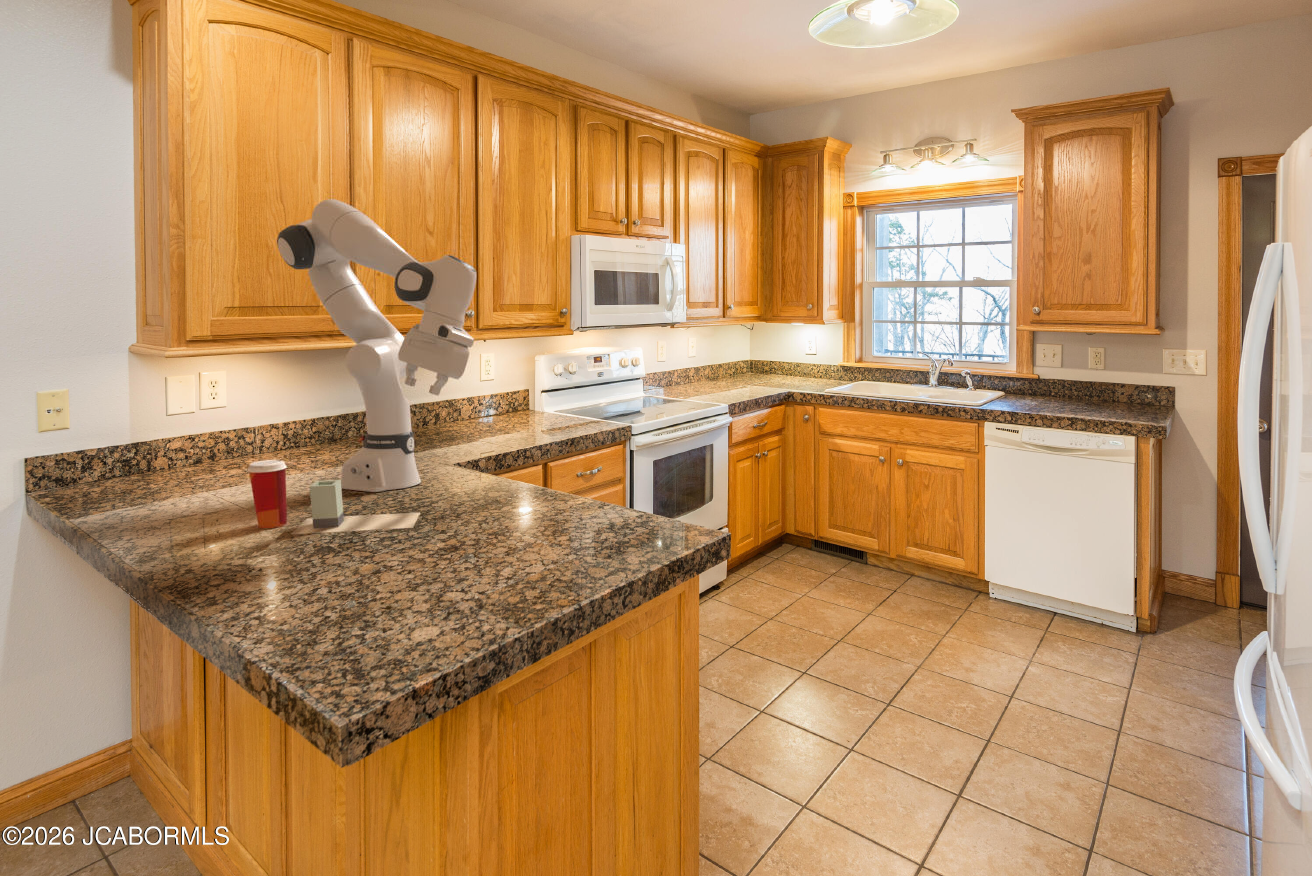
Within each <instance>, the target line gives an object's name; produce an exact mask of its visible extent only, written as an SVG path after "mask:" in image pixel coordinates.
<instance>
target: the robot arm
mask: <svg viewBox="0 0 1312 876" xmlns="http://www.w3.org/2000/svg"><path fill="white" fill-rule="evenodd" d="M276 244H277V248H278V249H277V250H278V251H279V254H280V256H281V258H282V259H283V261H284V262H285V263H286V264H287V265H288V266H289V267H291V268H293V269H294V270H300V271H301V270H307V269H308V270H307V271H308V273H307V274H308V277H309V280H310V282H311V285H312V286H313V289H314V291H315V292H316V295H317V297H318V299H319V300H320V302H321V304H322V305H323V307H324V308H325V310H326V312H327V313H328V315H329V316H330V318H331V319H332V321H333V322H334V323H335V325H336V327H337V328H338V330H339V331H340V332H341V333H342V334H343V335H344V336H347V337H348V338H349V339H350V340H352V341H353V342H354V343H355V345H354V346H352V347H351V348H349V350H348V352H347V354H346V357H345V363H346V364H345V365H346V368H347V370H348V373H350V375H351V376H352V377H353V378H354V379H355V380H356V383H357V384H358V387H359V389H360V392H361V395H362V398H363V402H364V406H365V415H366V416H365V418H366V427H367V429H366V430H367V432H366V433H365V434H364V435H362V436H359V437H358V439H359V440H358V442H362V441H363V442H362V447H361V448H360V449H358V450H357V451H356V452H355V453H353V454H352V455H351V456H350V457H349V458H348V459H347V460H345V461H344V463H343V465H342V468H341V478H340V479H338V480H341V490H343V489H344V490H352V491H359V492H361V491H363V492H371V493H378V492H379V493H380V492H385V491H389V490H397V489H398V490H399V489H406V488H411V487H414V486H417V485H419V484H421V482H422V480H421V477H420V474H419V471H418V467H417V463H416V459H415V453H414V452H415V437H414V431H413V430H412V420H411V419H412V417H411V406H410V405H411V404H410V401H409V399H408V398H407V397H406V396H405V394H404V392H403V387H402V386H401V383H400V378H404V377H405V380H404V384H405V385H407V386H408V387H415V386H416V384H417V379H416V372H417V371H418V369H419V368H421V369H424V370H427V371H431V372H432V373H436V376H435V378H436V380H435V382H434V383H433V385H430V387H429V390H428V393H430V394H432V395H434V396H440V394H441V391H442V389H443V387H444V386H446V384H447V383H448V381H449V378H451V379H454V380H459V379H461V377H462V376H463V375H464V373H465V370H466V368H467V363H468V362H469V358H470V349H469V348H472V347H473V345H474V342H475V339H474V337H473V336H471V335H470V334H469V333H468V332H467V331H466V330H465V329H464V325H465V316H466V312H467V310H468V308H469V307H470V305H471V302H472V300H473V297H474V294H475V293H474V292H475V288H476V283H477V271H476V269H475V267H473V266H472V265H470V264H469V263H467V262H465V261H464V260H462V259H459V258H457V257H456V256H454V255H449V254H447V255H444V256H442V257H441V258H439V259H437V260H432V261H427V262H426V261H424V262H420V261H419V260H417V259H416V258H414V257H413V256H412V255H410V254H409V253H408V252H407V251H406V250H405V249H404V248H402V247H401V245H399V244H398V243H397V242H396V241H395V240H394V239H393V238H391V236H389V235H388V233H386V232H385V231H384V229H382V227H380V226H379V225H378V224H377V223H376V222H375V221H374V220H372V219H371V218H370V217H369V216H368V215H366V214H365V213H363V212H362V211H360V210H359V209H357V208H356V207H354V206H353V205H350V204H348V203H346V202H343V201H341V200H338V199H334V198H331V199H330V198H329V199H324V200H322V201H320V202H319V203H317V204H316V206H315V207H314V208H313V211H312V213H311V218H310V219H307V220H304V221H301V222H299V223H297V224H292V225H289V226H287V227H284V229H282V230H281V231H280V232H279V233H278V236H277V239H276ZM350 261H351V262H353V263H355V264H358V265H360V266H363V267H366V268H367V269H368V268H369V269H372V270H373V271H377V272H379V273H381V274H382V273H383V274H385V275H388V276H391V277H393V278H394V291H395V295H396V296H397V298H398V299H399V300H401V301H402V302H403V303H405V304H407V305H409V306H411V307H414V308H416V309H417V310H418V309H419V310H421V311H423V314H422V316H421V319H420V323H415V325H413V326H412V327H411V328H410V330H408V331H407V333H406V334H405V336H403V335H402V333H400V331H399V330H398V329H397V327H395V326H394V325H393V324H392V323H391V322H390V321H389V319H387V318H386V317H385V315H384V314H383V313H382V312H381V311H380V310H379V308H378V307H377V305H376V304H375V303H374V301H373V299H372V297H371V296H370V295H369V293H368V291H367V290H366V288H365V286H363V283H361V281H360V279H359V278H358V277H357V276H356V274H355V273H354V271H353V269H352V268H351V264H350Z"/></svg>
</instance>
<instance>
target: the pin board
mask: <svg viewBox="0 0 1312 876" xmlns="http://www.w3.org/2000/svg"><path fill="white" fill-rule="evenodd" d="M420 514H421V512H405V513H385V514H383V513H382V514H366V515H363V514H362V515H347V516H345V515H344V521H343V522H342V524H341V525H340V526H339V527H330V528H313V519H312V517H311V518H308V517H307V518H306V519H304V520H303V521H302V522H301V524H299V526H298V527H297V528H295V530H293V531H292V532H291V533H290V535H305V534H324V533H325V534H326V533H344V532H345V533H346V532H360V531H361V532H362V531H363V532H365V531H377V530H378V531H379V530H396V529H397V530H398V529H412V528H414V526H415V524H416V522H417V520H418V519H419V516H420Z"/></svg>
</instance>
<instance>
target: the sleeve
mask: <svg viewBox="0 0 1312 876" xmlns="http://www.w3.org/2000/svg"><path fill="white" fill-rule="evenodd" d="M342 490H343V489H341V480H339V479H336V480H335V479H334V480H315V481H314V482H313V483H312V484H311V485H309V496H310V505H311V508H310V509H311V516H312V517H311V518H312V519H313V528H330V527H339V526H340V525H341V524H342V522H343V521H344V516H345V515H344V505H343V504H344V503H343V494H342V493H343V491H342Z"/></svg>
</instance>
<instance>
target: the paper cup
mask: <svg viewBox="0 0 1312 876" xmlns="http://www.w3.org/2000/svg"><path fill="white" fill-rule="evenodd" d="M287 467H288V466H287V465H286V463H285V460H280V459H266V460H258V461H253V462H251V463H249V466H248V468H247V472H248V473H249V479H250V486H251V490H252V497H253V504H254V508H255V516H256V520H257V521H256V522H257V526H258V528H259V527H260V529H263V530H264V529H265V528H269V529H276V528H275V527H277V528H280V527H284V526H285V524H286V525H287V524H288V516H287V512H288V509H287V506H288V503H287V478H286V477H287V476H286V475H287V474H286V468H287ZM283 525H284V526H283Z"/></svg>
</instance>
